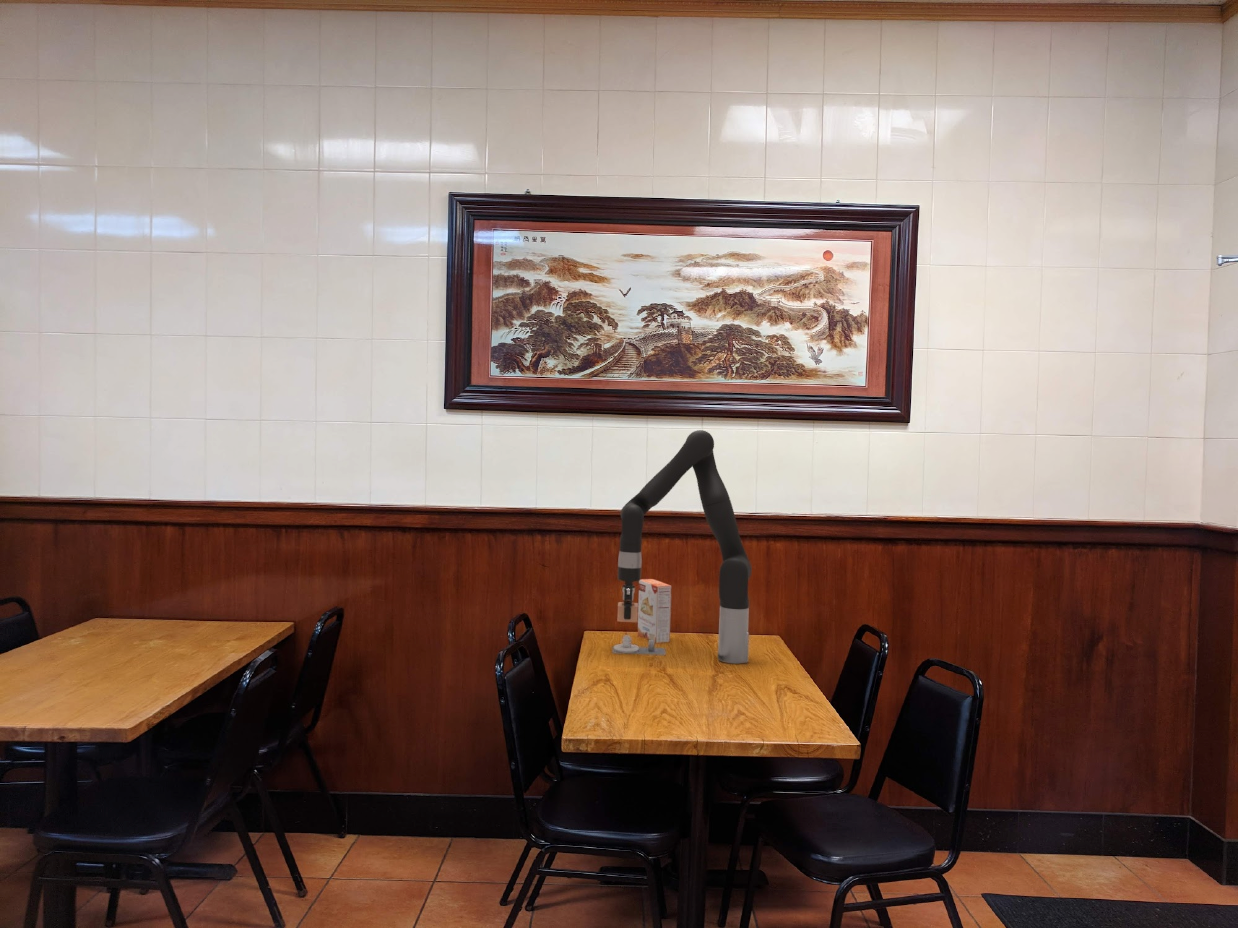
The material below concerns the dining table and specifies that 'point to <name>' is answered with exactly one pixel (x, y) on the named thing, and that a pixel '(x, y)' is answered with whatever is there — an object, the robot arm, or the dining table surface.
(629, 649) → the hub base
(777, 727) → the dining table surface
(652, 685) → the dining table surface
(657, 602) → the cracker box
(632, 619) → the collar
